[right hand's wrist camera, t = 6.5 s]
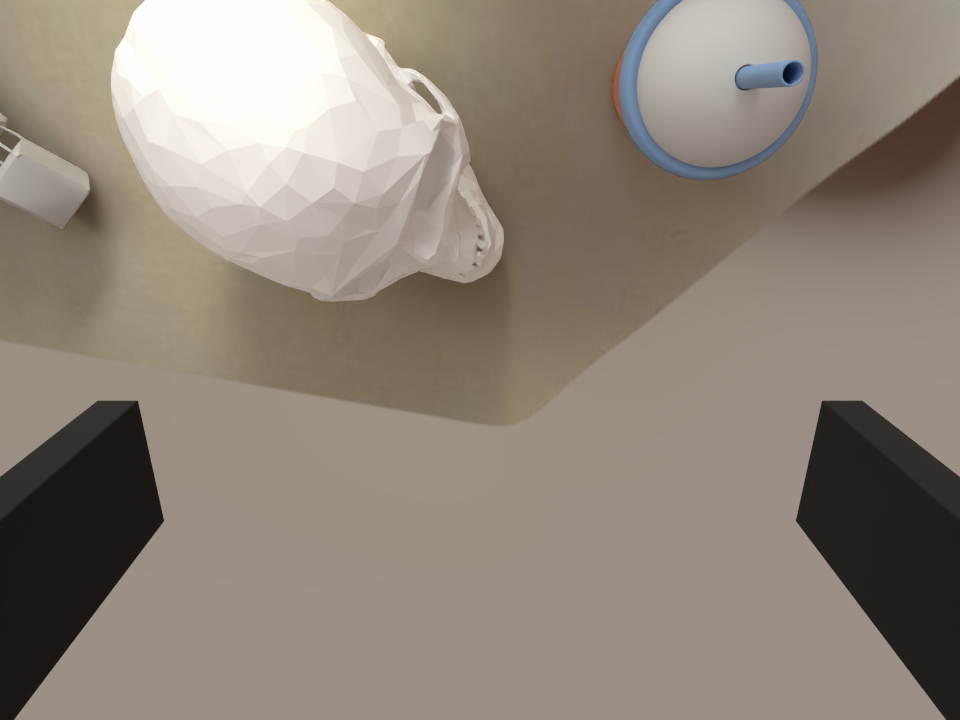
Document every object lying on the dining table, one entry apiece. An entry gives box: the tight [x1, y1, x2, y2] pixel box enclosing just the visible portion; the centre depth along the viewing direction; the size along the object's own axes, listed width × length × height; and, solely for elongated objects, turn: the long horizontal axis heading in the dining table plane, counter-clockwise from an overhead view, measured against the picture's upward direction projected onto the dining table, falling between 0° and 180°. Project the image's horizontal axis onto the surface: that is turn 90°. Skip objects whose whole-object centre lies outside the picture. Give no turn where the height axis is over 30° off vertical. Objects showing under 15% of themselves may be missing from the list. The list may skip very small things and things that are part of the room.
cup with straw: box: [612, 0, 817, 180], centre depth 31 cm, size 9×9×18 cm
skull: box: [111, 0, 504, 302], centre depth 34 cm, size 13×22×16 cm, turn 58°
